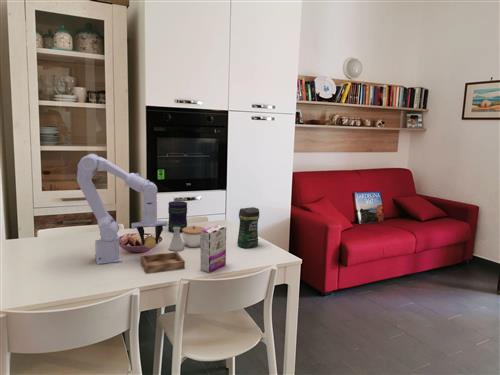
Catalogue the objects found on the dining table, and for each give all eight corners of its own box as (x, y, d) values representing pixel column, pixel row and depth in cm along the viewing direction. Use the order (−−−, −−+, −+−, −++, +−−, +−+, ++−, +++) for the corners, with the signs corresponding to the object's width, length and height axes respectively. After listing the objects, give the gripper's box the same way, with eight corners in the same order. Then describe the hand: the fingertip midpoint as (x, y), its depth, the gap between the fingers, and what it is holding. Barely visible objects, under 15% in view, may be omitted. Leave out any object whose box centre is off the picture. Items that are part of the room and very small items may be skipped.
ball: (144, 250, 162) (144, 238, 161) (142, 246, 167) (142, 235, 166) (157, 248, 164) (156, 237, 164) (154, 245, 169) (154, 233, 168)
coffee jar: (244, 249, 182) (245, 210, 179) (234, 245, 188) (236, 207, 185) (260, 246, 188) (262, 208, 185) (251, 242, 194) (252, 205, 191)
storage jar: (185, 233, 204) (185, 205, 201) (166, 232, 204) (166, 204, 202) (188, 228, 214) (188, 201, 211) (170, 227, 214) (170, 200, 211)
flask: (181, 252, 175) (181, 230, 174) (165, 250, 177) (165, 229, 175) (186, 247, 182) (187, 226, 181) (172, 245, 184) (172, 225, 182)
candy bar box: (216, 262, 165) (217, 224, 162) (226, 264, 162) (227, 226, 160) (199, 270, 156) (199, 230, 153) (209, 273, 153) (210, 232, 150)
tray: (146, 273, 150) (146, 265, 150) (140, 262, 161) (140, 255, 160) (184, 268, 157) (184, 261, 156) (177, 258, 167) (177, 251, 167)
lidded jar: (177, 246, 183) (177, 226, 182) (189, 240, 193) (190, 221, 191) (198, 250, 179) (198, 230, 178) (209, 243, 189) (209, 224, 187)
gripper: (133, 215, 156) (133, 248, 159) (169, 213, 163) (169, 245, 165) (130, 211, 163) (130, 243, 165) (165, 209, 169) (165, 240, 171)
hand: (149, 243), depth 165 cm, fingers closed on ball, 5 cm apart
